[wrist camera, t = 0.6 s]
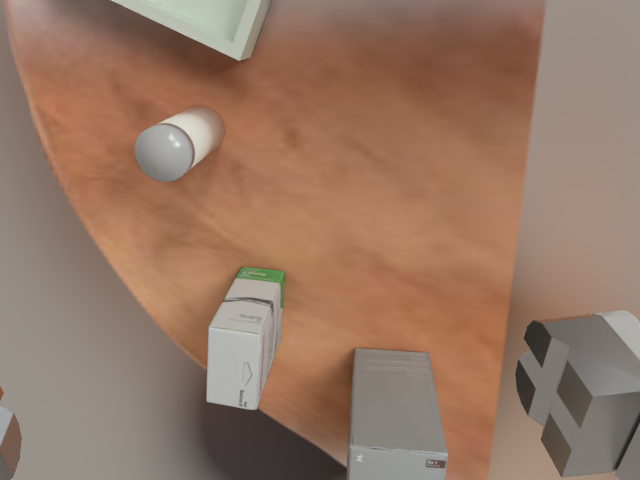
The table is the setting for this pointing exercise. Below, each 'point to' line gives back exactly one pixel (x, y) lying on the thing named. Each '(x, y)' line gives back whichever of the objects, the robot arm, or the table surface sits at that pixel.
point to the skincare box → (394, 418)
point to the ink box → (245, 338)
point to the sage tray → (209, 21)
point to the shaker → (179, 143)
